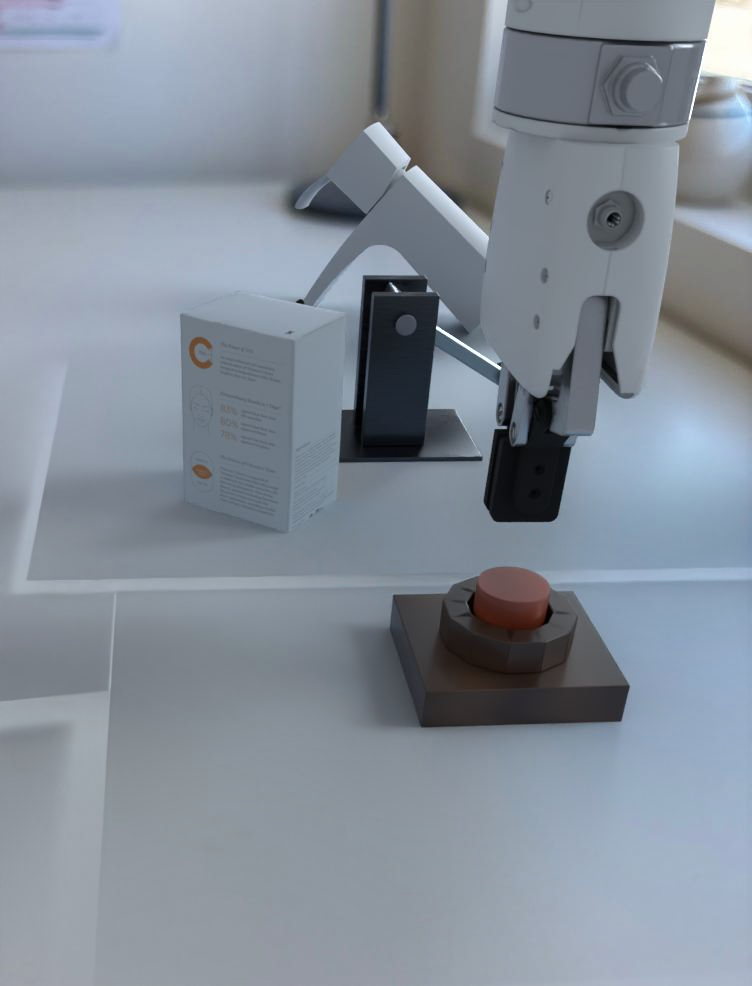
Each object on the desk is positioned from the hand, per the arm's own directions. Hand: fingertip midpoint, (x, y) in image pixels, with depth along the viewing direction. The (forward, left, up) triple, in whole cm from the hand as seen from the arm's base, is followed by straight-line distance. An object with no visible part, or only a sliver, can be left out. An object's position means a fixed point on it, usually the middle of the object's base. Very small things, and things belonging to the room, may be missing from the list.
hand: (519, 513), depth 54 cm
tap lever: (-3, -29, -3) cm, 29 cm away
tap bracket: (+1, -29, -9) cm, 31 cm away
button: (0, 0, -6) cm, 6 cm away
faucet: (-6, -60, -10) cm, 61 cm away
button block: (0, 0, -9) cm, 9 cm away
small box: (+11, -19, -10) cm, 24 cm away
